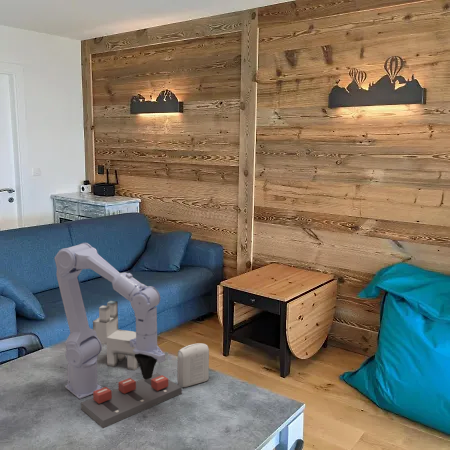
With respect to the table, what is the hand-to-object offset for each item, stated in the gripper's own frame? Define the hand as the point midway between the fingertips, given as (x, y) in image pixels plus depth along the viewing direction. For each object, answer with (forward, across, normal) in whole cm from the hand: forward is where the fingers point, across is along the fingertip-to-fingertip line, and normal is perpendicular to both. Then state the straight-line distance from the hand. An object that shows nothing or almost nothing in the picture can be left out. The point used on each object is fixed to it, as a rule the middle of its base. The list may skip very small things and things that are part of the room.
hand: (147, 377), depth 135 cm
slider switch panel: (+8, -5, -2) cm, 10 cm away
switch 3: (+6, -3, +6) cm, 9 cm away
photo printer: (+9, -2, +18) cm, 20 cm away
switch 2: (+6, -8, -2) cm, 10 cm away
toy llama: (+9, -28, +9) cm, 31 cm away
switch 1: (+6, -8, -10) cm, 14 cm away
